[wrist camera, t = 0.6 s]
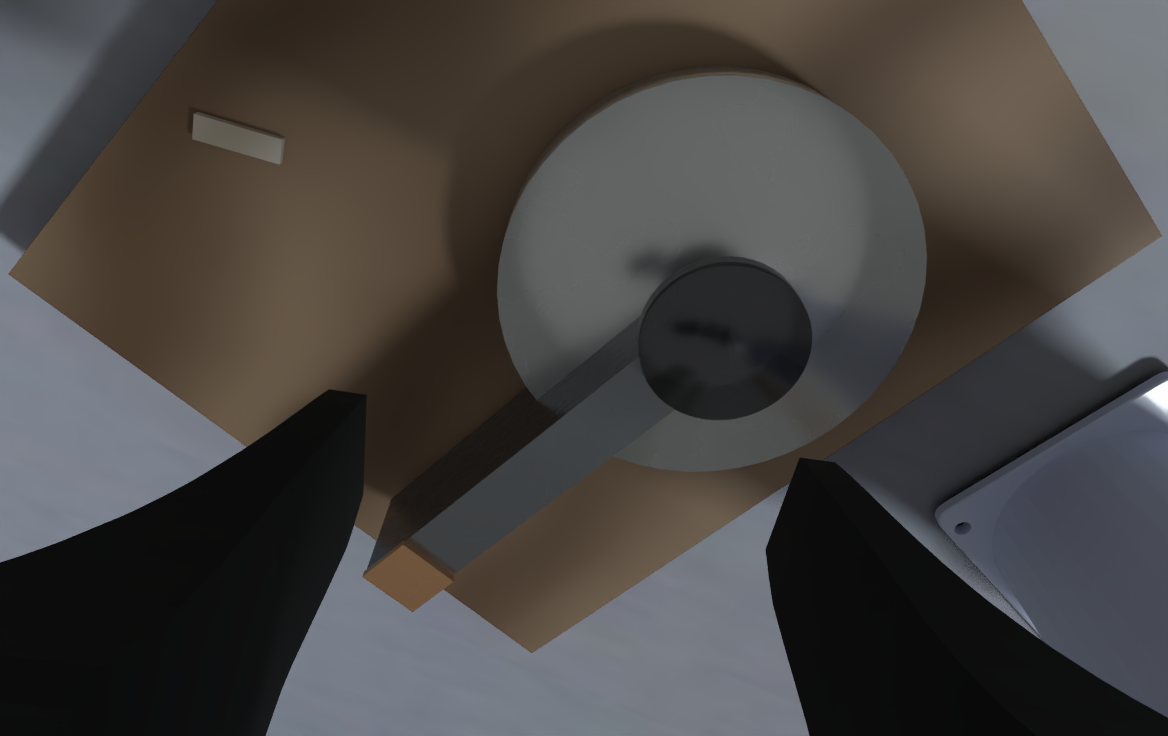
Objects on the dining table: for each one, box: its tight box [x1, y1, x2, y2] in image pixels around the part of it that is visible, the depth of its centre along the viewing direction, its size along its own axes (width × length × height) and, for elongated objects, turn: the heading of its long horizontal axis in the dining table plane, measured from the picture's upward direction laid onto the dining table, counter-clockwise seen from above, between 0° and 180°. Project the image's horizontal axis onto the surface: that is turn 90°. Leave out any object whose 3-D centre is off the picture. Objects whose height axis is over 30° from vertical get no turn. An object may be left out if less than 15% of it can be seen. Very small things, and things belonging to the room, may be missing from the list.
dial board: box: [9, 0, 1162, 653], centre depth 20 cm, size 19×22×2 cm
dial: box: [363, 66, 927, 612], centre depth 19 cm, size 16×10×4 cm, turn 133°
